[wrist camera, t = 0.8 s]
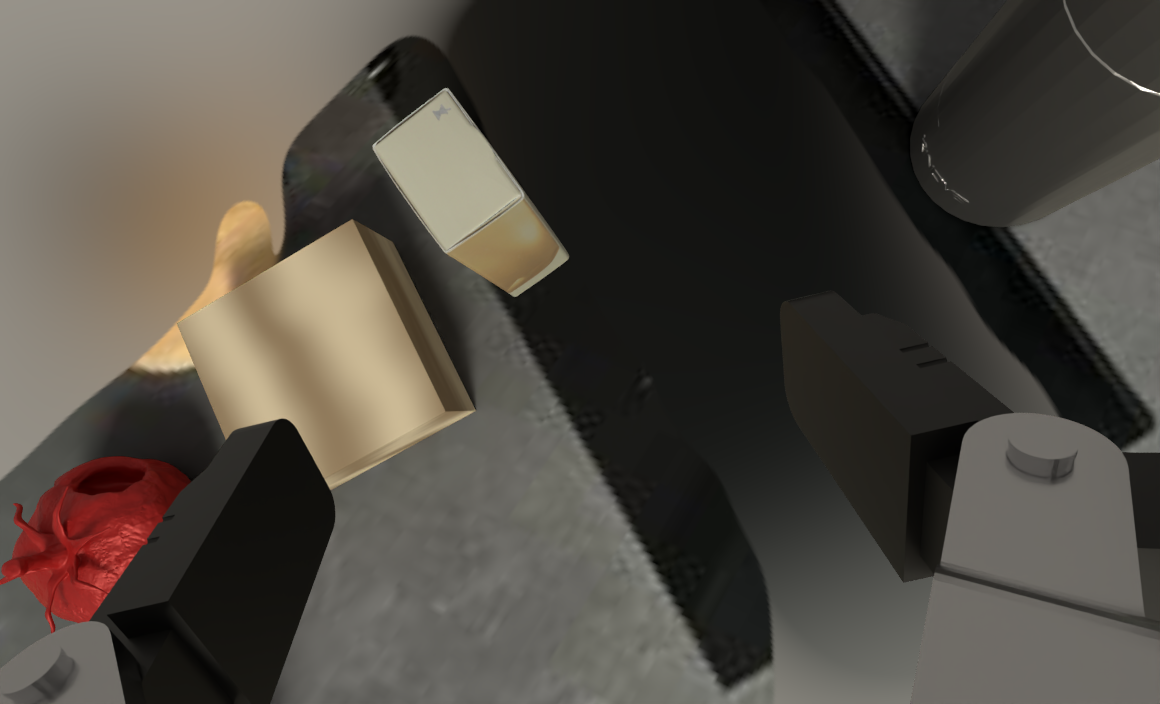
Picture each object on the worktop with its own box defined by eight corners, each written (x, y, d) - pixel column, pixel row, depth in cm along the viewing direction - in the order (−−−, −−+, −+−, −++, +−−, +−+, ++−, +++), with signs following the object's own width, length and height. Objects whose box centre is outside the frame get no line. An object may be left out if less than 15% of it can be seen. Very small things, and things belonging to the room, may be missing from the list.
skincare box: (460, 221, 39) (363, 140, 27) (516, 179, 39) (442, 77, 27) (517, 303, 38) (442, 257, 26) (575, 261, 38) (526, 194, 26)
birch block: (392, 242, 40) (352, 219, 35) (475, 410, 38) (445, 411, 33) (237, 333, 41) (176, 323, 36) (310, 500, 39) (257, 514, 34)
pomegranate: (256, 569, 40) (133, 622, 30) (124, 630, 40) (-35, 699, 31) (202, 425, 41) (68, 434, 32) (75, 487, 42) (-92, 514, 32)
